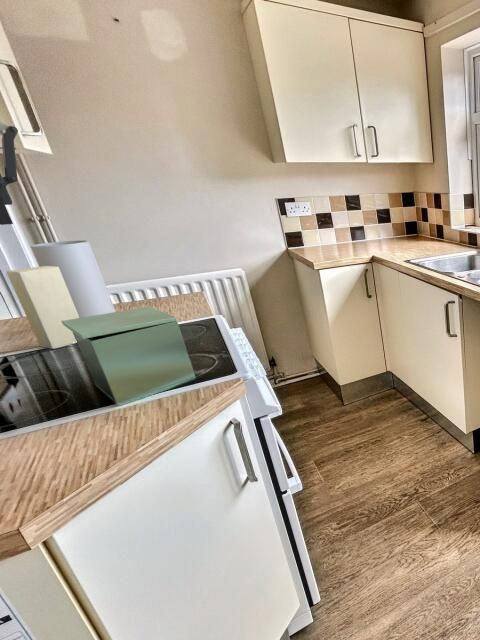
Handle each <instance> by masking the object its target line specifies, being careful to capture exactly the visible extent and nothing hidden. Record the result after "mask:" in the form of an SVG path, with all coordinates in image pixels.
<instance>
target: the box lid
mask: <svg viewBox="0 0 480 640" xmlns="http://www.w3.org/2000/svg"><path fill="white" fill-rule="evenodd" d="M174 321H177V322H178V320H177V317H176V316H175V315H171V314H169V313H167V312H164V311H162V310H160V309H157V308H155V307H152V306H144V307H138V308H132V309H126V310H125V309H124V310H120V311H116V312H113V313H107V314H100V315H94V316H88V317H82V318H76V319H70V320H64V321H62V324H63V325H64V326H65V327H67V328H68V329H70V330H71V331H72V332H74V333H75V334H77V335H78V336H79V337H81V338H82V339H85V338H91V337H96V336H101V335H106V334H111V333H117V332H122V331H127V330H132V329H137V328H143V327H148V326H153V325H158V324H164V323H169V322H174Z"/></svg>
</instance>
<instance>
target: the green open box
mask: <svg viewBox="0 0 480 640" xmlns="http://www.w3.org/2000/svg"><path fill="white" fill-rule="evenodd" d="M178 322H179V321H178V320H177V321H174V322H169V323H164V324H158V325H153V326H148V327H145V328H142V329H138V330H133V331H129V332H125V333H120V334H116V335H112V336H107V337H104V336H106V335H108V334H106V335H101V336H96V337H91V338H85V339H82V338H81V337H79V336H78V335H77V334H75V333H74V332H73V334H74V337H75V339H76V341H77V343H76V344H77V346H78V348H79V351H80V353H81V355H82V358H83V360H84V362H85V365H86V367H87V369H88V372H89V373H90V377H91V378H92V381H93V383H94V385H95V387H96V388H97V389H98V390H99V391H100V392H101V393H102V394H104V396H105V397H107V398H108V399H109V400H110V401H111V402H112V403H114V404H115V406H117V407H121V406H123V405H127V404H130V403H133V402H136V401H139V400H142V399H145V398H148V397H151V396H153V395H156V394H160V393H162V392H167V391H169V390H172V389H176V388H177V387H180V386H184V385H187V384H189V383H190V384H191V383H193V382H196V381H198V379H197V376H196V374H195V370H194V368H193V364H192V361H191V358H190V355H189V352H188V350H187V347H186V344H185V341H184V337H183V334H182V332H181V328H180V325H179V323H178Z"/></svg>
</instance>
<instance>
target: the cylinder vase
mask: <svg viewBox="0 0 480 640" xmlns="http://www.w3.org/2000/svg"><path fill="white" fill-rule="evenodd" d="M30 248H31V251H32V253H33V256H34V257H35V260H36V263H37V264H38V267H41V266H54V267H59V269H60V271H61V274H62V276H63V279H64V281H65V284H66V286H67V289H68V291H69V294H70V296H71V298H72V301H73V303H74V306H75V308H76V311H77V313H78V315H79V318H82V317H88V316H94V315H100V314H107V313H113V312H117V311H116V309H115V306H114V304H113V301H112V298H111V296H110V293H109V290H108V288H107V285H106V283H105V280H104V277H103V274H102V272H101V270H100V269H101V268H100V267H99V264H98V262H97V259H96V257H95V254H94V251H93V248H92V246H91V243H90V241H89V240H86V239H85V240H80V239H79V240H66V241H65V240H63V241H54V242H44V243H38V244H31V245H30Z"/></svg>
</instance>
